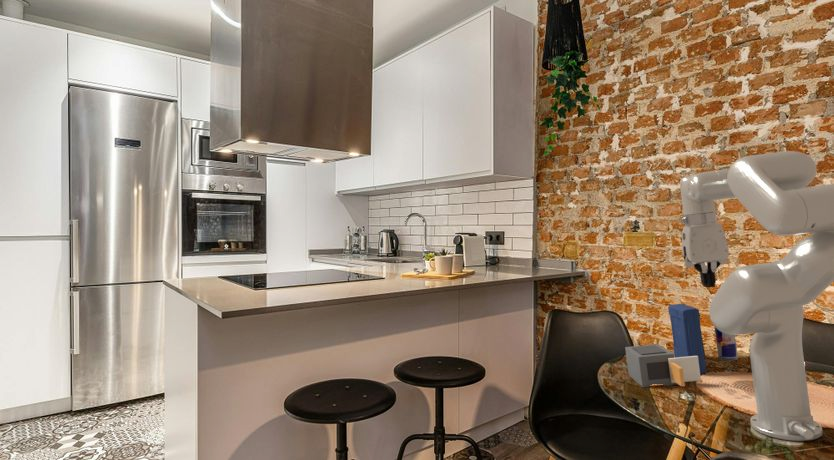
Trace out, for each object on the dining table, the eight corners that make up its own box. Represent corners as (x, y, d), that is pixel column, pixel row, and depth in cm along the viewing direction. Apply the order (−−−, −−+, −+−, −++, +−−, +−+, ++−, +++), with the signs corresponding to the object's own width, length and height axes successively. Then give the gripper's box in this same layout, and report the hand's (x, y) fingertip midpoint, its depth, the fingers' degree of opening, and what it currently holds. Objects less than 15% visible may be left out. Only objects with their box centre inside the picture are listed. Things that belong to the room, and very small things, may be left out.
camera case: (678, 384, 135) (673, 352, 135) (642, 387, 136) (638, 356, 136) (661, 372, 147) (657, 343, 147) (628, 375, 148) (625, 346, 148)
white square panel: (711, 387, 128) (708, 362, 128) (681, 390, 128) (678, 365, 128) (699, 379, 134) (696, 355, 134) (671, 382, 135) (668, 358, 135)
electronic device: (708, 373, 141) (699, 308, 141) (691, 375, 141) (682, 310, 141) (690, 364, 150) (682, 303, 150) (674, 366, 150) (666, 305, 151)
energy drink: (716, 359, 151) (711, 323, 151) (721, 355, 155) (716, 319, 155) (735, 361, 147) (730, 324, 147) (740, 357, 151) (735, 320, 151)
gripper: (678, 223, 123) (687, 291, 123) (737, 216, 122) (746, 285, 122) (666, 223, 131) (674, 288, 130) (721, 217, 129) (730, 282, 129)
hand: (709, 286), depth 126 cm, fingers closed
